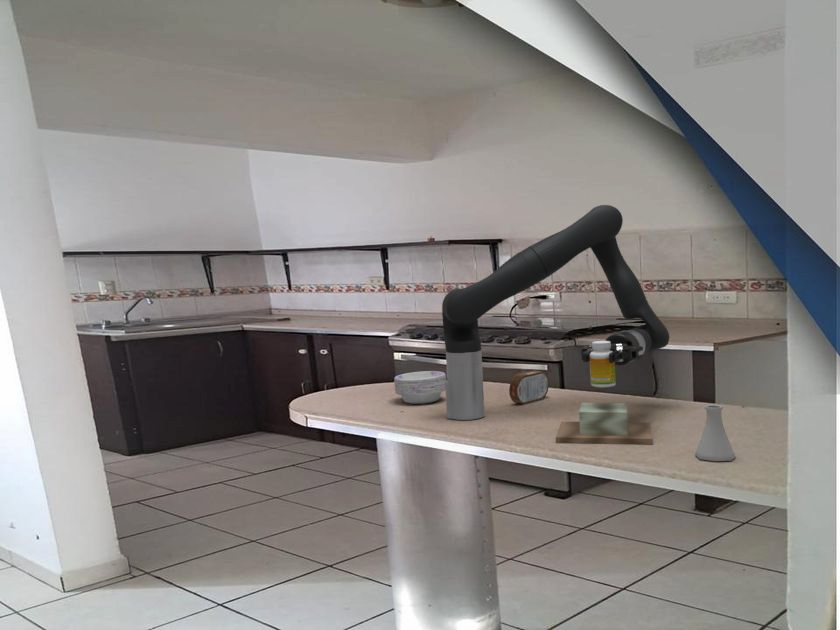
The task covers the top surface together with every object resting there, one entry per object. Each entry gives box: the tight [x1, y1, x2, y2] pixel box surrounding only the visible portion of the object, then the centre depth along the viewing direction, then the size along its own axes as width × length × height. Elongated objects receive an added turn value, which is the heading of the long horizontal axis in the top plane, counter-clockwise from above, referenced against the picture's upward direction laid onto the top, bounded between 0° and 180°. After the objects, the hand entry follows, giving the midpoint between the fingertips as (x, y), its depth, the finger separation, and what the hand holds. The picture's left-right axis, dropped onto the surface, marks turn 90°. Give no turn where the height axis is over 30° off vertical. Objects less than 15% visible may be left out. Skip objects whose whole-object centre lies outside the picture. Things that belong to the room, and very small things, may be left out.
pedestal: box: [555, 402, 654, 445], centre depth 156 cm, size 20×15×6 cm
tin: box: [508, 369, 549, 405], centre depth 197 cm, size 15×3×8 cm, turn 133°
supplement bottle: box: [589, 340, 617, 388], centre depth 155 cm, size 5×5×10 cm
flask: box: [694, 404, 736, 462], centre depth 135 cm, size 7×7×10 cm
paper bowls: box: [393, 370, 447, 405], centre depth 206 cm, size 15×15×8 cm
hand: (597, 357), depth 153 cm, fingers closed on supplement bottle, 5 cm apart
